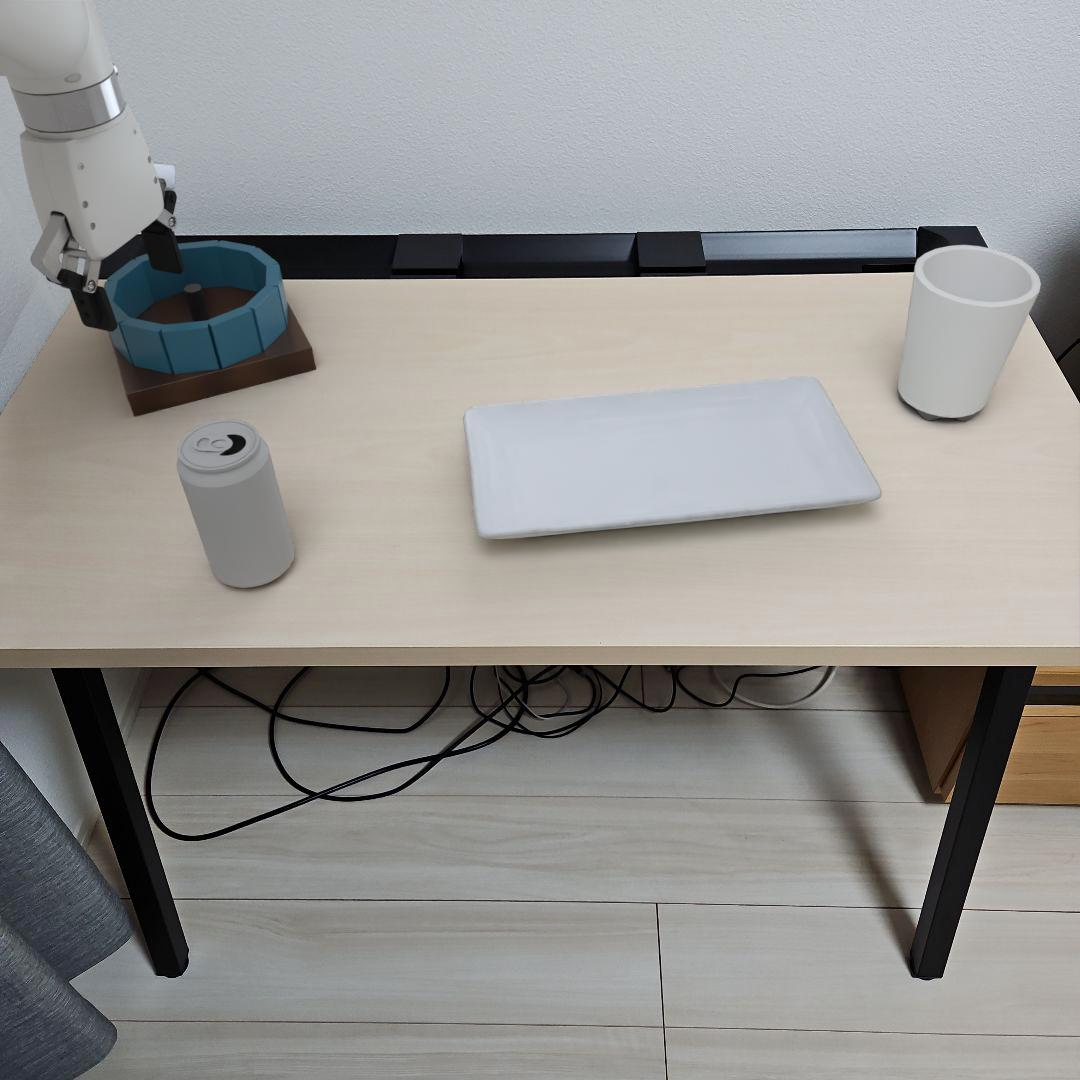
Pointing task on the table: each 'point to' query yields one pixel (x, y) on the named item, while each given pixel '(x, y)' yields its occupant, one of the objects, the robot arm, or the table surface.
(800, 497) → the tray
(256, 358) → the platform
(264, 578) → the beverage can
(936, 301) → the cup
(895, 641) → the table surface
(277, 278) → the ring
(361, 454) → the table surface
